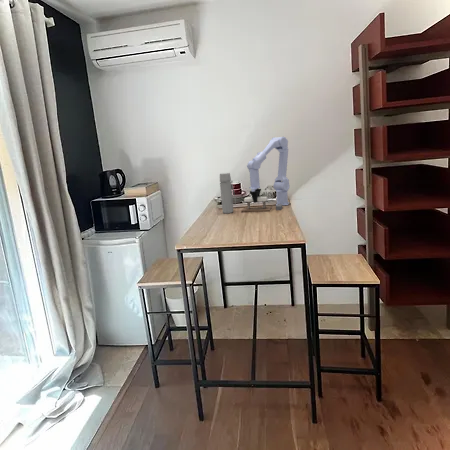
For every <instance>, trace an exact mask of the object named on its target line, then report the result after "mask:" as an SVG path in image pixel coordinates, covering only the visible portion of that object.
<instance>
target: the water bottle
mask: <svg viewBox="0 0 450 450" xmlns="http://www.w3.org/2000/svg"><path fill="white" fill-rule="evenodd" d="M233 183H234V182H233V180H232V179H231V172H222V173H219V185H220V186H219V187H220V197H221V208H222V209H221V210H222V213H223V214H233V212H234V205H236V203H237V201H236V199H234V198H236V197H235V194H234V193H235V190H234V186H233Z"/></svg>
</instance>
